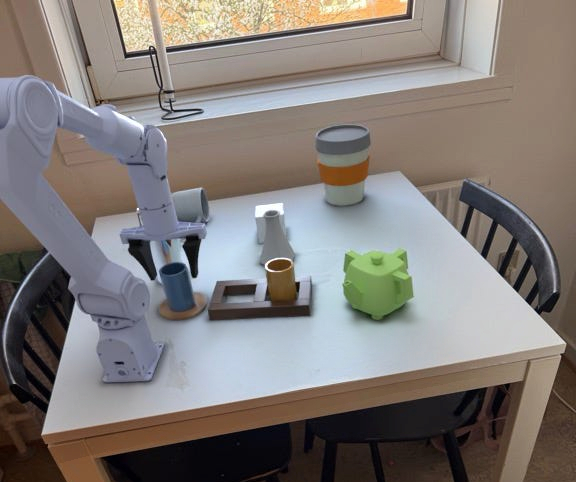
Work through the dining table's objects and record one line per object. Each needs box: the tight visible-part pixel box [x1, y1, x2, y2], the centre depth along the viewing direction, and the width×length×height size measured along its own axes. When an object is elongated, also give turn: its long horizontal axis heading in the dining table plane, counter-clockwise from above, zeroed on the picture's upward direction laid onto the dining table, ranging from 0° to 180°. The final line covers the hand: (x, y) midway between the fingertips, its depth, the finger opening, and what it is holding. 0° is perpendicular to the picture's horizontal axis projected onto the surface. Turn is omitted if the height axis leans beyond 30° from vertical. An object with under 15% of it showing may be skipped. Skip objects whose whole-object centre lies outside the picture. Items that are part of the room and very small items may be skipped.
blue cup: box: [159, 261, 196, 312], centre depth 100 cm, size 5×5×8 cm
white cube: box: [254, 202, 287, 244], centre depth 119 cm, size 6×6×6 cm
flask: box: [259, 210, 296, 266], centre depth 109 cm, size 7×7×10 cm
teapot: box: [341, 248, 415, 321], centre depth 93 cm, size 12×12×10 cm
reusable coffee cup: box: [314, 123, 372, 207], centre depth 128 cm, size 13×13×15 cm
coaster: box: [158, 291, 208, 321], centre depth 103 cm, size 9×9×1 cm
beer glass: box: [135, 206, 184, 285], centre depth 107 cm, size 7×7×15 cm
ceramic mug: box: [171, 187, 210, 223], centre depth 128 cm, size 11×8×8 cm
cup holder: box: [207, 275, 313, 321], centre depth 100 cm, size 10×18×2 cm, turn 86°
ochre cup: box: [264, 258, 298, 301], centre depth 98 cm, size 5×5×8 cm
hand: (174, 276), depth 98 cm, fingers open, 7 cm apart
